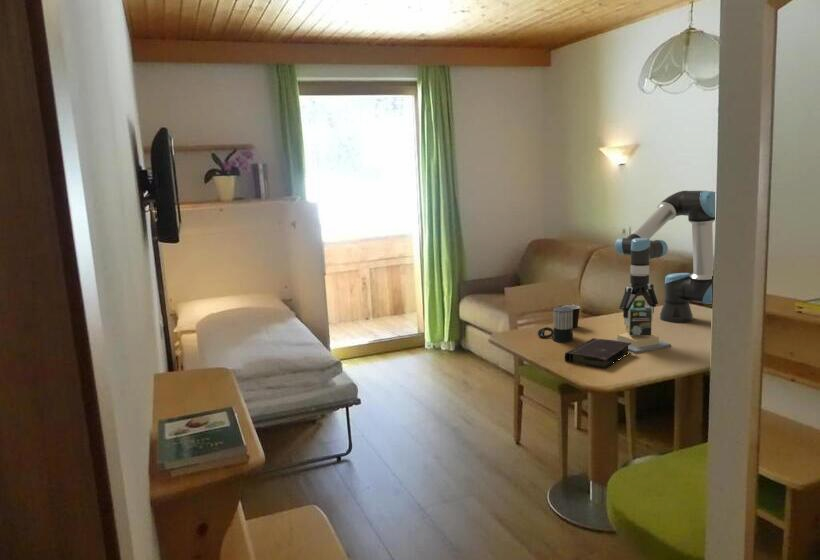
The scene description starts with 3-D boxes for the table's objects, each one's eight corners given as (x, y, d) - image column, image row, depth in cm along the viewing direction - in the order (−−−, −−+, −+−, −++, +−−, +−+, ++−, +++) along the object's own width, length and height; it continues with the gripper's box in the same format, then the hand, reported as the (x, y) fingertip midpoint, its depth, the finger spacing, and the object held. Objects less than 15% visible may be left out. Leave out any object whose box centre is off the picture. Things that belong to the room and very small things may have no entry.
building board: (640, 336, 279) (640, 327, 278) (670, 346, 263) (671, 337, 262) (605, 342, 271) (605, 334, 271) (635, 353, 255) (635, 344, 254)
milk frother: (574, 343, 273) (574, 311, 270) (538, 343, 276) (538, 311, 273) (571, 334, 287) (571, 303, 284) (537, 334, 290) (537, 304, 287)
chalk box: (646, 329, 270) (647, 297, 267) (651, 335, 261) (652, 302, 258) (625, 329, 271) (625, 297, 268) (629, 335, 262) (630, 302, 260)
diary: (564, 363, 249) (563, 351, 249) (591, 348, 268) (591, 337, 267) (607, 371, 237) (607, 358, 236) (633, 354, 255) (633, 343, 254)
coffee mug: (580, 329, 295) (580, 309, 293) (562, 329, 297) (562, 309, 295) (578, 323, 306) (578, 303, 304) (561, 322, 308) (561, 303, 306)
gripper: (654, 270, 269) (653, 317, 273) (611, 276, 260) (610, 324, 264) (667, 272, 262) (666, 320, 266) (623, 278, 253) (622, 328, 257)
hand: (638, 322), depth 265 cm, fingers closed on chalk box, 12 cm apart
